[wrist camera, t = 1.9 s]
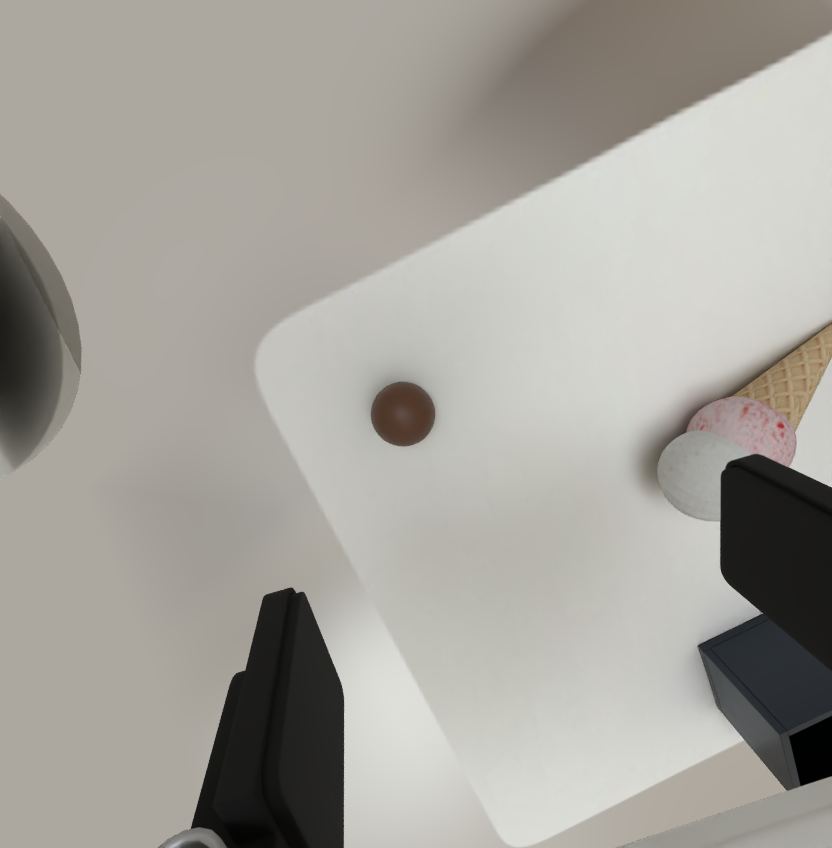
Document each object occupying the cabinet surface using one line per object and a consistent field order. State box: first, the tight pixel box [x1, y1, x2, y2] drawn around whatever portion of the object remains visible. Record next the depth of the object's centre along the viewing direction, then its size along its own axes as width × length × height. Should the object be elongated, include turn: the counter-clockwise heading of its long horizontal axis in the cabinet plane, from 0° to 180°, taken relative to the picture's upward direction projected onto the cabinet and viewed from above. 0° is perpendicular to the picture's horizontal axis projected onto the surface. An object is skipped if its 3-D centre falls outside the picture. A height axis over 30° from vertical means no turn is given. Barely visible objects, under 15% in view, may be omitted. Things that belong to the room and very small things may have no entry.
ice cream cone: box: [657, 324, 832, 521], centre depth 24 cm, size 5×5×15 cm
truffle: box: [371, 382, 435, 446], centre depth 22 cm, size 3×3×3 cm
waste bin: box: [698, 614, 832, 791], centre depth 30 cm, size 8×7×6 cm
